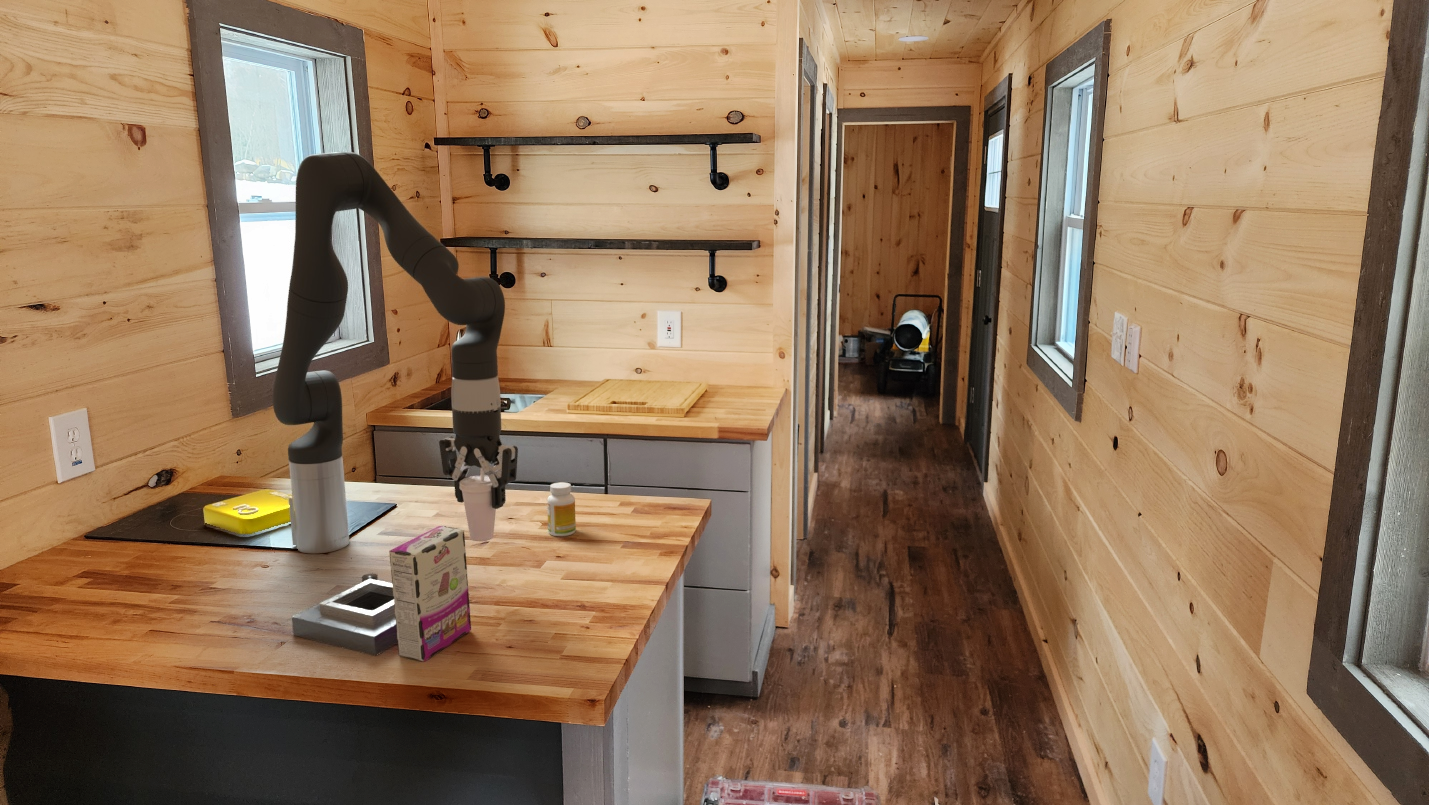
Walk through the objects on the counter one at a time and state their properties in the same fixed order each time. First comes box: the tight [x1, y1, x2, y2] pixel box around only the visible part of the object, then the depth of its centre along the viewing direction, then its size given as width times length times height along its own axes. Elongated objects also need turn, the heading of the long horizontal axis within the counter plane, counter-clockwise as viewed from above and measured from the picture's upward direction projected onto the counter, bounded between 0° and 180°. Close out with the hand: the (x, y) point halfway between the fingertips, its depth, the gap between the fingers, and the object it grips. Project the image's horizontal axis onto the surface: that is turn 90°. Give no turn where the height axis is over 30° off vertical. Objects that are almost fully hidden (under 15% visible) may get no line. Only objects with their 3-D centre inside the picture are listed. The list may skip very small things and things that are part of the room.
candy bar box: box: [388, 525, 472, 663], centre depth 138 cm, size 11×5×16 cm, turn 157°
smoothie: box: [459, 468, 497, 542], centre depth 153 cm, size 6×6×14 cm
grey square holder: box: [291, 572, 398, 657], centre depth 145 cm, size 16×16×4 cm
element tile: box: [202, 488, 292, 534], centre depth 191 cm, size 15×15×5 cm
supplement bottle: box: [546, 481, 577, 537], centre depth 185 cm, size 5×5×10 cm
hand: (480, 503), depth 153 cm, fingers closed on smoothie, 6 cm apart
